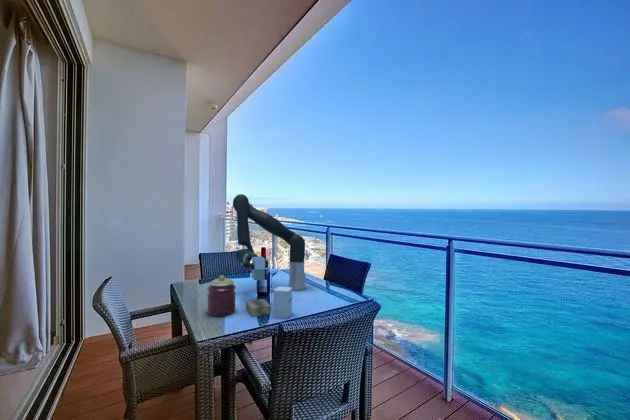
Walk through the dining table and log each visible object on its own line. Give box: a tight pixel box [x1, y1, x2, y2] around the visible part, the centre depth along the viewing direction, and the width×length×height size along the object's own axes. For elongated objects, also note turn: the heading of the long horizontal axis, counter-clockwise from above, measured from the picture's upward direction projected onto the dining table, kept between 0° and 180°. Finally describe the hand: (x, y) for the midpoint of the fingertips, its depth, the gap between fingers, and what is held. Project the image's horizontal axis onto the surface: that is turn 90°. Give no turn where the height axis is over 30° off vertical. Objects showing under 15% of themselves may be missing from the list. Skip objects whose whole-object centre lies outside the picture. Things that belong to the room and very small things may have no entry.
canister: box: [206, 274, 237, 317], centre depth 141 cm, size 13×13×18 cm
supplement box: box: [272, 286, 293, 320], centre depth 139 cm, size 7×7×13 cm
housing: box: [250, 256, 266, 281], centre depth 142 cm, size 5×6×10 cm
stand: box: [245, 298, 271, 318], centre depth 143 cm, size 9×11×4 cm
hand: (259, 267), depth 140 cm, fingers closed on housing, 5 cm apart
